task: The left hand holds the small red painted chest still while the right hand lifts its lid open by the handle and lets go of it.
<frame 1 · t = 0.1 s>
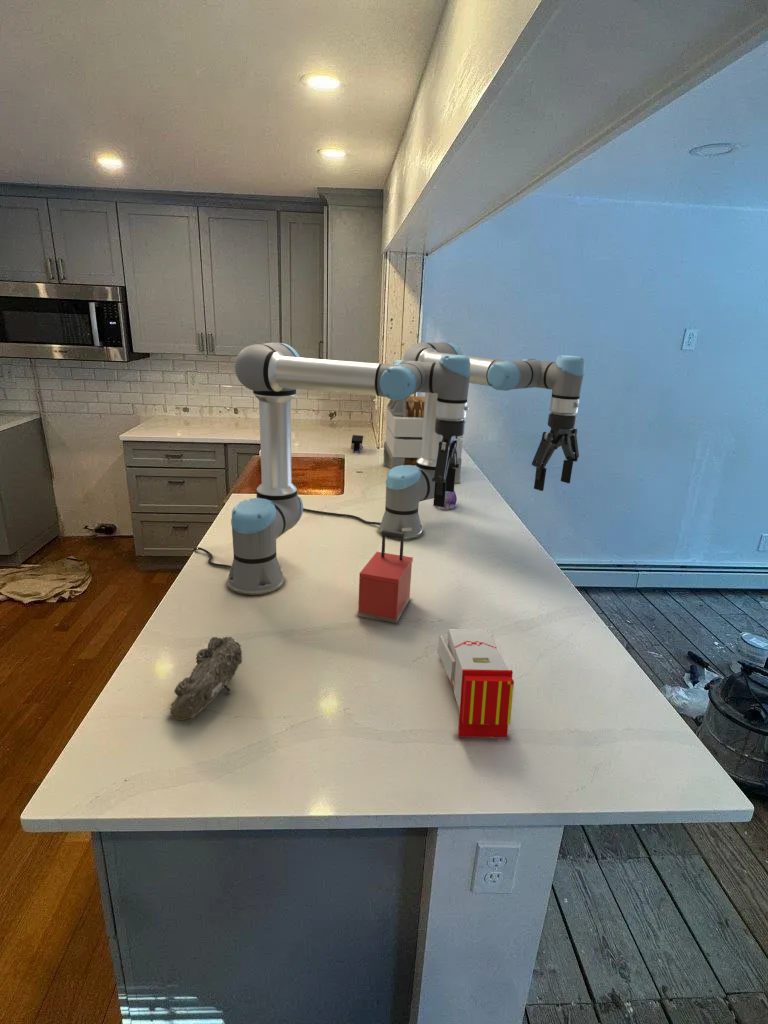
left hand: (444, 498, 150), 28 cm above the counter, tool pointing down, fingers open, 13 cm apart
right hand: (552, 485, 166), 28 cm above the counter, tool pointing down, fingers open, 13 cm apart
figurine: (446, 506, 230), on the counter
lid: (387, 553, 146), point 16 cm above the counter, hinge at 0.0°
figurine character: (357, 450, 312), on the counter
chest: (384, 607, 150), on the counter
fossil: (212, 689, 116), on the counter
white boxy piece: (419, 473, 275), on the counter
toy: (469, 691, 119), on the counter
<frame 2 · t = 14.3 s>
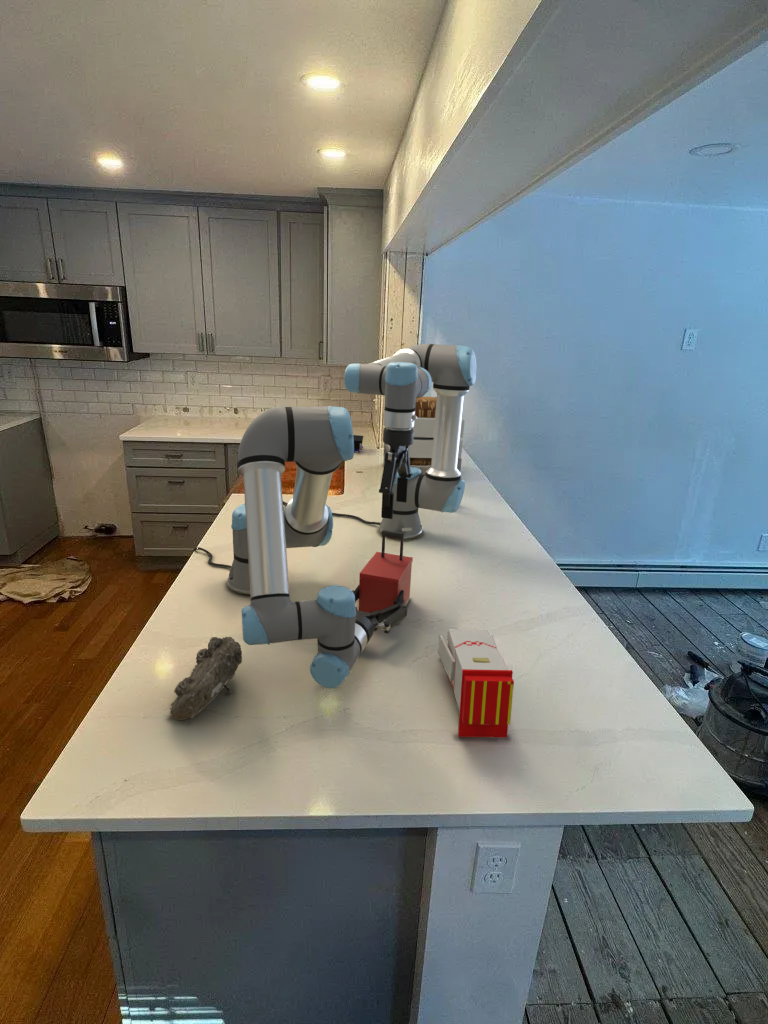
left hand: (381, 591, 145), 6 cm above the counter, tool horizontal, fingers closed on chest, 10 cm apart
right hand: (394, 509, 146), 26 cm above the counter, tool pointing down, fingers open, 13 cm apart
chest: (384, 607, 150), on the counter, touching left hand
everything else where it was.
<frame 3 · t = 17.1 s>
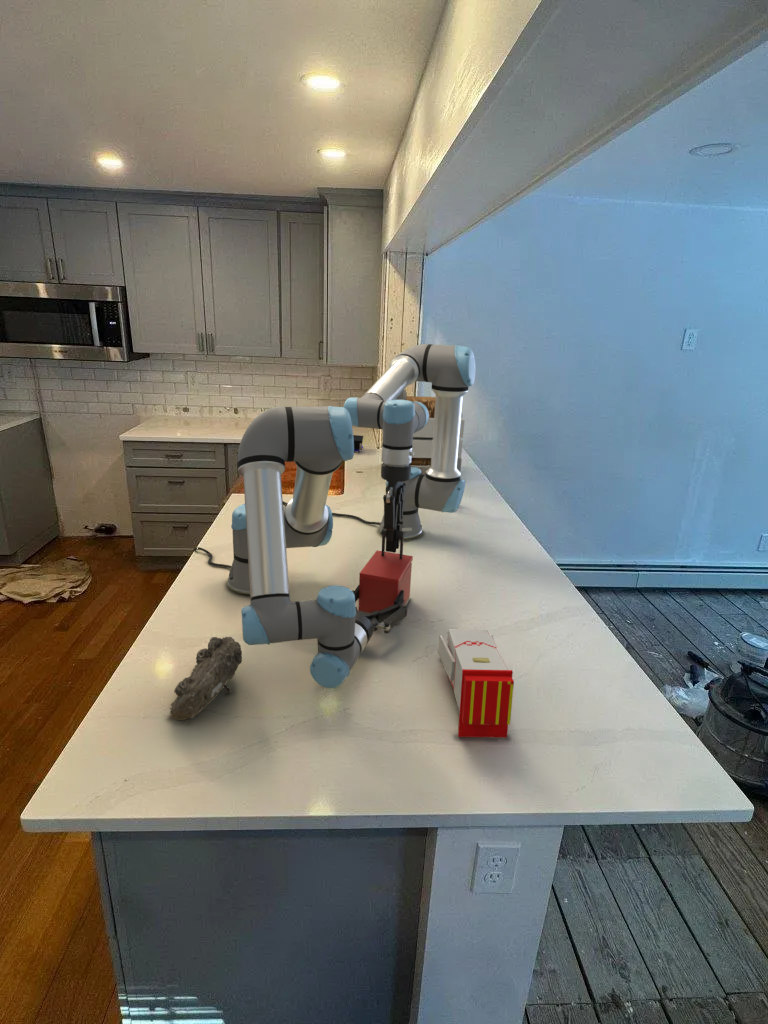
left hand: (381, 591, 145), 7 cm above the counter, tool horizontal, fingers closed on chest, 10 cm apart
right hand: (392, 549, 150), 15 cm above the counter, tool pointing down, fingers closed on lid, 2 cm apart
lid: (387, 552, 145), point 16 cm above the counter, hinge at 1.7°, touching right hand
chest: (384, 607, 150), on the counter, touching left hand
everything else where it was.
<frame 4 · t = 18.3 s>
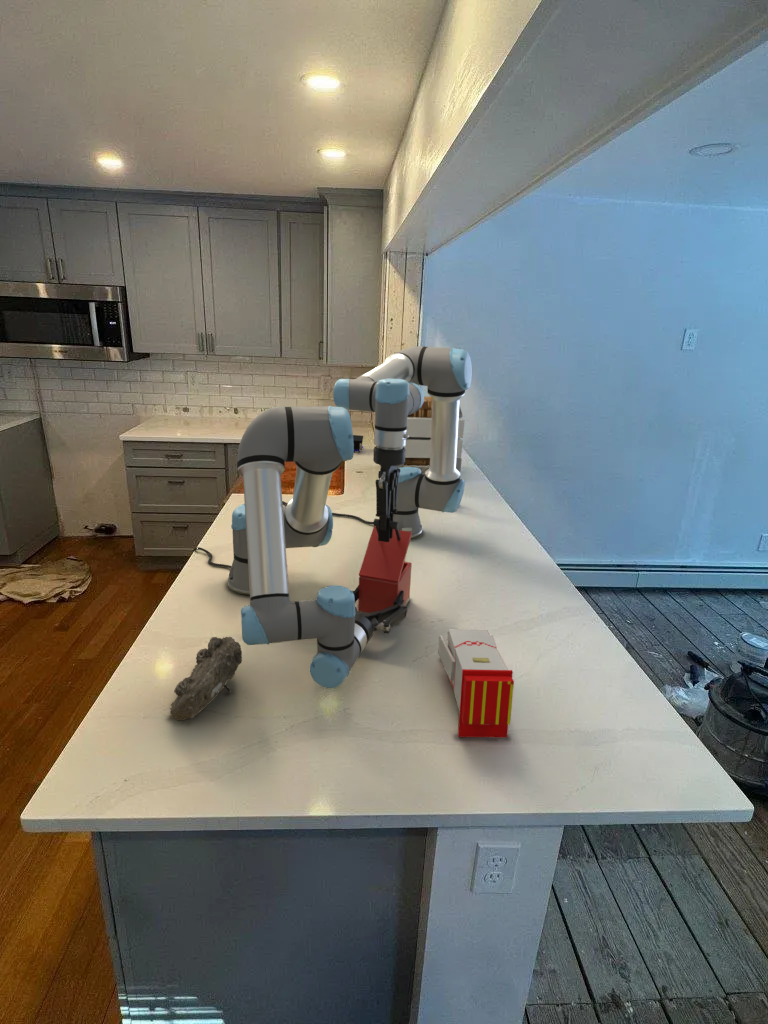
left hand: (381, 591, 145), 6 cm above the counter, tool horizontal, fingers closed on chest, 10 cm apart
right hand: (385, 538, 141), 21 cm above the counter, tool pointing down, fingers closed on lid, 2 cm apart
lid: (383, 546, 141), point 19 cm above the counter, hinge at 37.9°, touching right hand
chest: (384, 607, 150), on the counter, touching left hand
everything else where it was.
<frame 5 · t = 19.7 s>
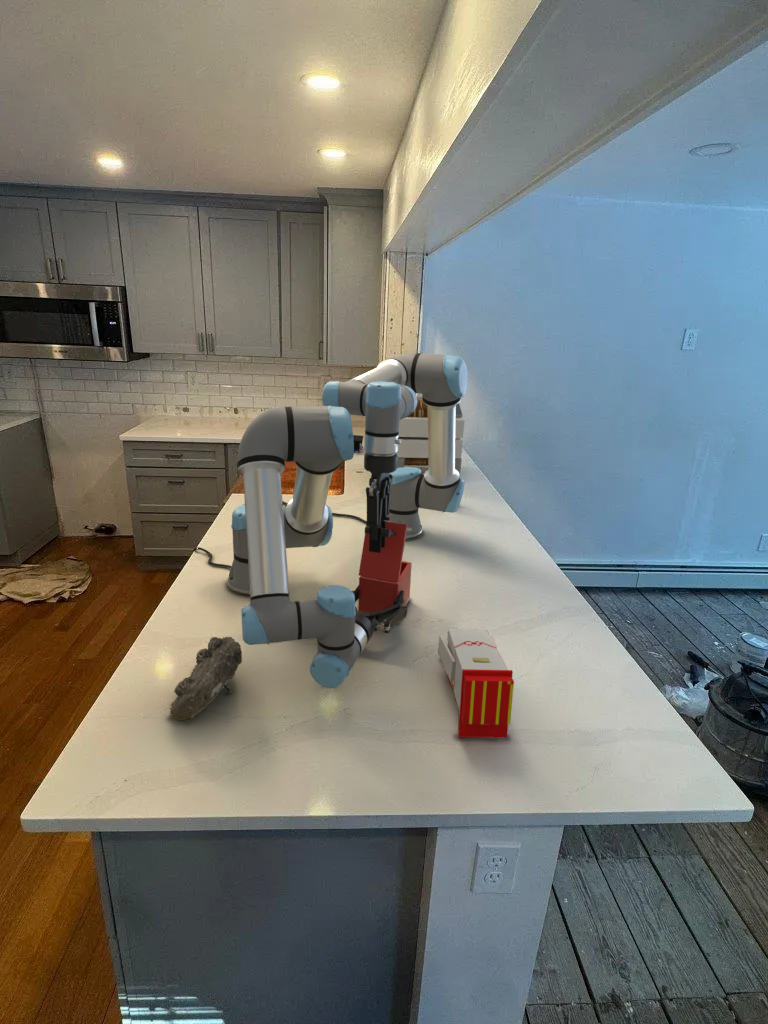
left hand: (381, 591, 145), 6 cm above the counter, tool horizontal, fingers closed on chest, 10 cm apart
right hand: (377, 548, 135), 21 cm above the counter, tool pointing down, fingers open, 3 cm apart
lid: (378, 550, 137), point 20 cm above the counter, hinge at 66.8°
chest: (384, 607, 150), on the counter, touching left hand
everything else where it was.
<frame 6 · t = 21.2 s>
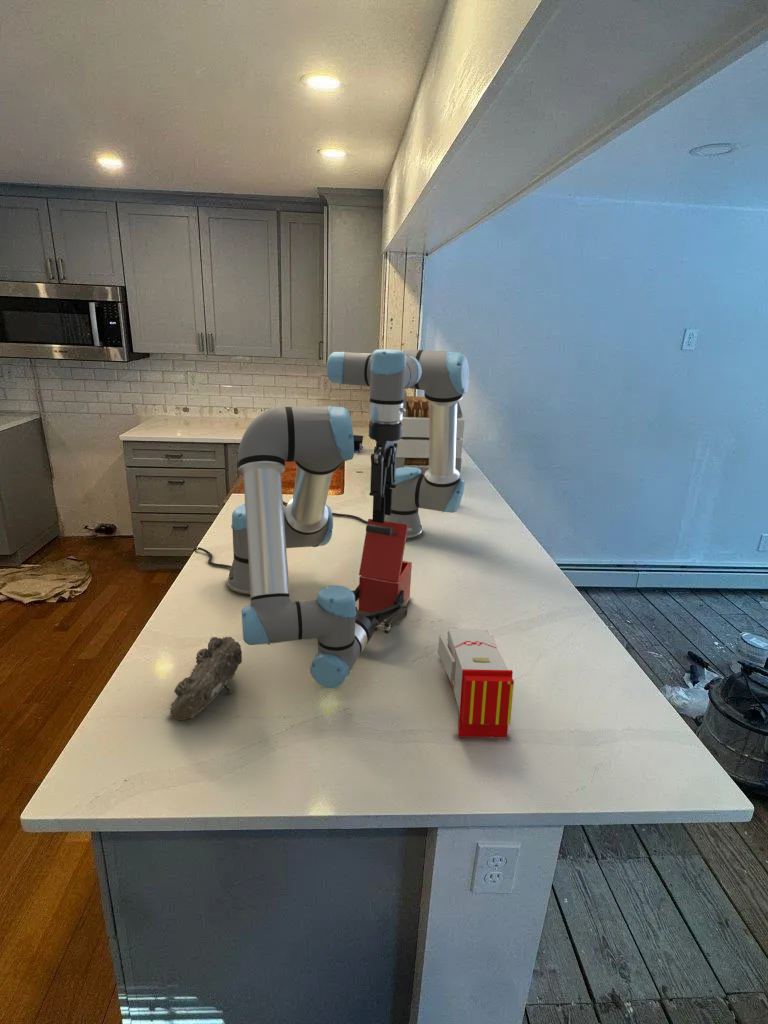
left hand: (381, 591, 145), 6 cm above the counter, tool horizontal, fingers closed on chest, 10 cm apart
right hand: (381, 517, 135), 28 cm above the counter, tool pointing down, fingers open, 5 cm apart
lid: (379, 549, 137), point 20 cm above the counter, hinge at 63.8°
chest: (384, 607, 150), on the counter, touching left hand
everything else where it was.
when the left hand's fingers open (6 cm above the counter, at t = 24.0 s): chest stays where it is, on the counter.
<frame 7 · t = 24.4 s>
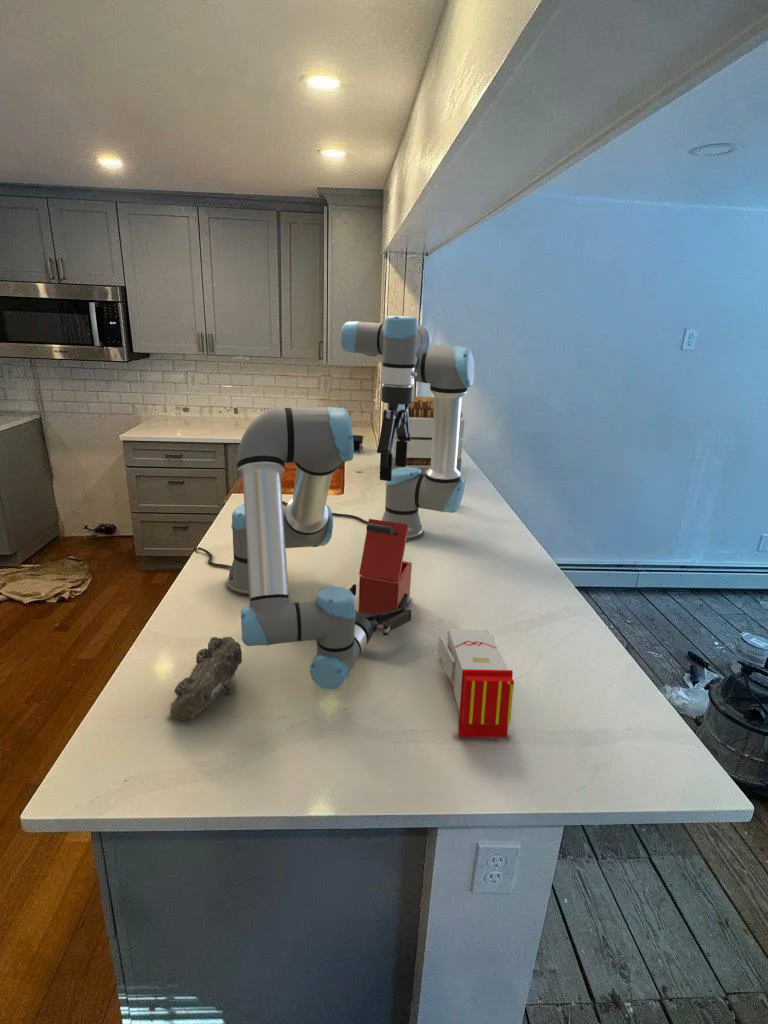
left hand: (380, 593, 144), 7 cm above the counter, tool horizontal, fingers open, 13 cm apart
right hand: (393, 473, 140), 37 cm above the counter, tool pointing down, fingers open, 13 cm apart
lid: (380, 548, 138), point 20 cm above the counter, hinge at 62.6°
chest: (384, 607, 151), on the counter
everything else where it was.
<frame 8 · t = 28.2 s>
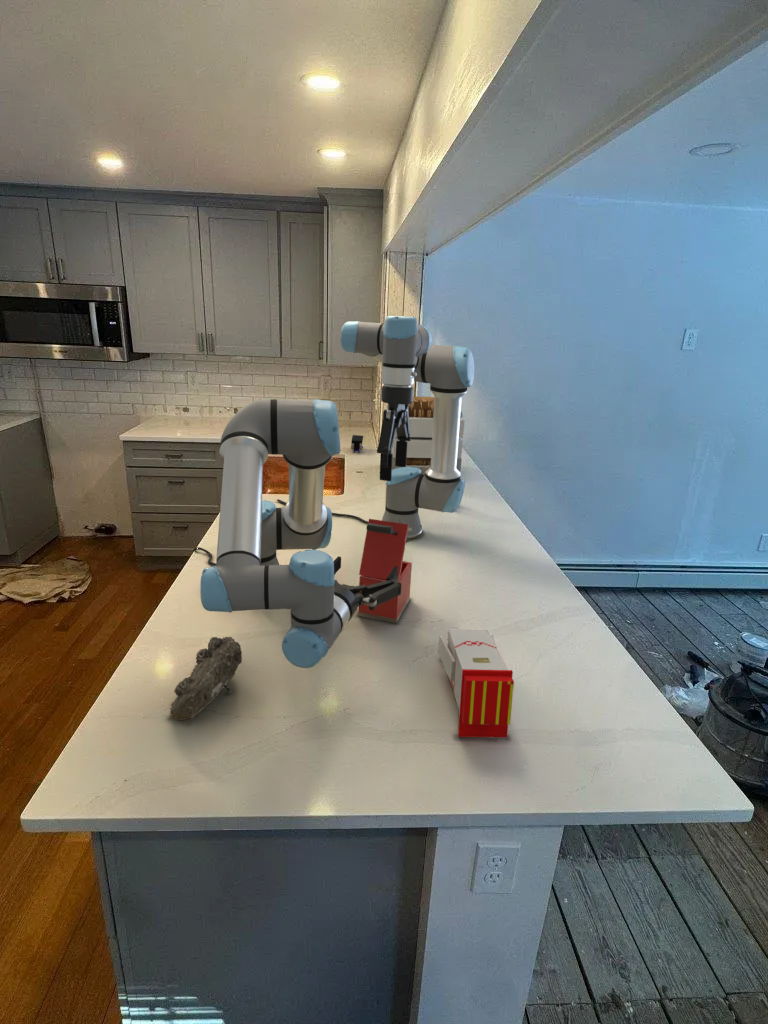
left hand: (367, 566, 129), 19 cm above the counter, tool horizontal, fingers open, 13 cm apart
right hand: (393, 473, 140), 37 cm above the counter, tool pointing down, fingers open, 13 cm apart
nothing on the counter moved.
at the end: lid at +63° (first picture: +0°); the left hand is holding nothing; the right hand is holding nothing; chest tilted 0°; chest never tilted more than 1° during the clip; chest moved 0.1 cm from its start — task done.
